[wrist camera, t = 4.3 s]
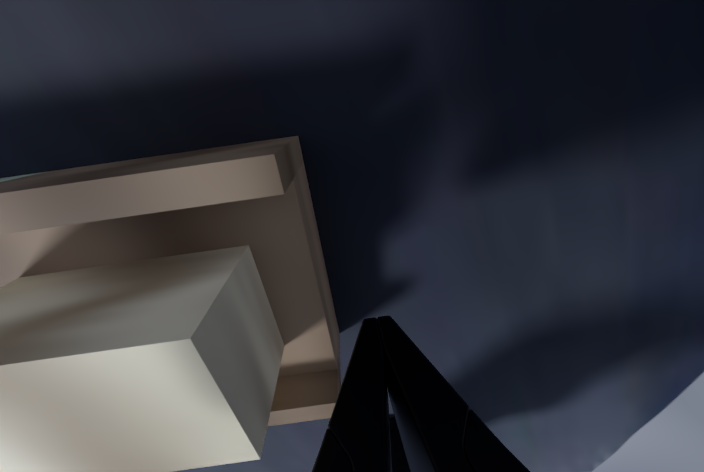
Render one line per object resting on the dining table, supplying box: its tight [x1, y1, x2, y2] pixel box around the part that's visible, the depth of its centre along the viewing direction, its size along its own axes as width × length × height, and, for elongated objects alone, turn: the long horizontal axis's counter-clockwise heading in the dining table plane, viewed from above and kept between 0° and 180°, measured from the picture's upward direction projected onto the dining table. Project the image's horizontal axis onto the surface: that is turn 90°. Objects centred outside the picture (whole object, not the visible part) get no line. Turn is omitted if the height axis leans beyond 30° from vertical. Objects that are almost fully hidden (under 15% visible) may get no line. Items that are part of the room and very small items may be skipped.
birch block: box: [0, 245, 284, 472], centre depth 8 cm, size 8×5×4 cm, turn 97°
